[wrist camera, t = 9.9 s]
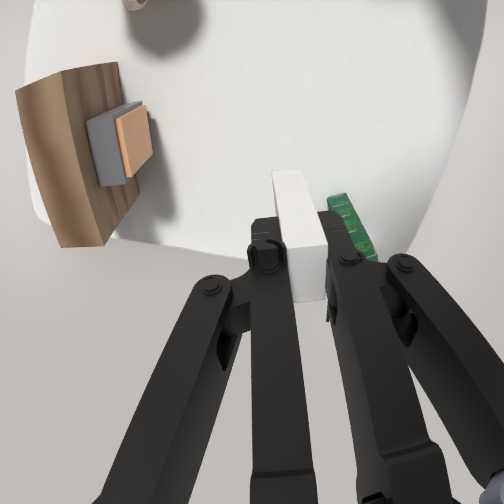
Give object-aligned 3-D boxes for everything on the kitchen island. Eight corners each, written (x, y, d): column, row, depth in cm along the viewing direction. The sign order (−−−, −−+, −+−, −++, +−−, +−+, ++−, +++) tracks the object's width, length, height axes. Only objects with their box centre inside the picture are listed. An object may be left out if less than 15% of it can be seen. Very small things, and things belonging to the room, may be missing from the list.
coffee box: (355, 240, 42) (382, 306, 32) (336, 245, 43) (358, 312, 32) (346, 191, 38) (379, 251, 27) (325, 196, 38) (351, 259, 28)
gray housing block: (146, 100, 29) (118, 114, 23) (155, 156, 34) (131, 183, 27) (83, 113, 30) (47, 132, 23) (94, 164, 34) (63, 192, 28)
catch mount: (117, 61, 28) (61, 71, 18) (139, 193, 38) (103, 246, 29) (76, 73, 28) (15, 90, 18) (101, 197, 38) (60, 247, 29)
